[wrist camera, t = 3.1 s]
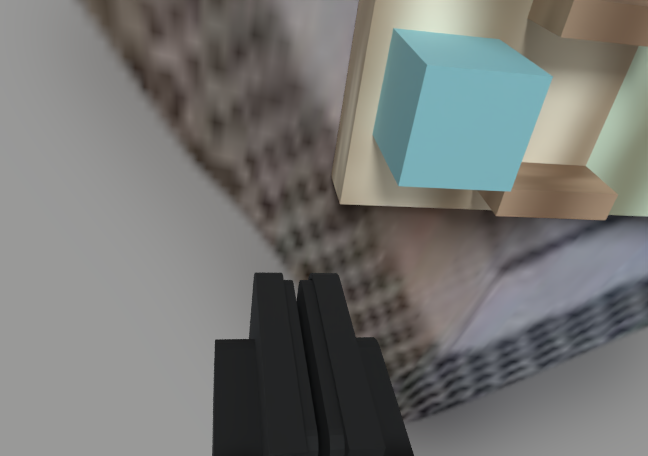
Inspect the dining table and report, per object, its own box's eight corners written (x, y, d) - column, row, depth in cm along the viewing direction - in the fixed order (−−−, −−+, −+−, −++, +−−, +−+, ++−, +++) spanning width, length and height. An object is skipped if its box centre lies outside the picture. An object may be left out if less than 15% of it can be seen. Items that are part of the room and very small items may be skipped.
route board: (866, -16, 29) (996, 11, 24) (733, 196, 36) (812, 250, 31) (372, -88, 24) (409, -71, 19) (331, 176, 31) (350, 237, 26)
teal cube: (499, 39, 25) (553, 76, 21) (469, 140, 27) (510, 191, 23) (393, 28, 24) (426, 64, 20) (372, 134, 26) (398, 186, 22)
